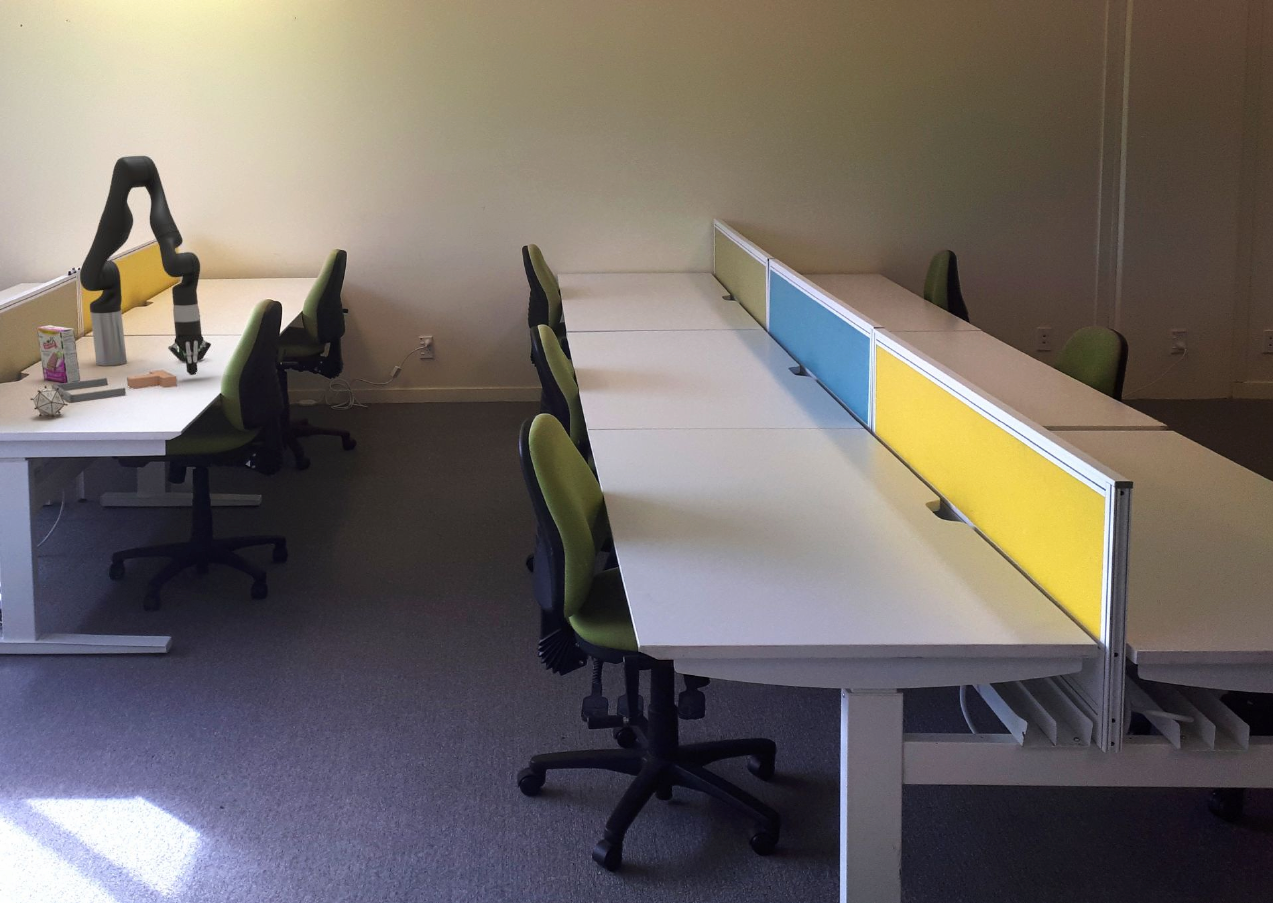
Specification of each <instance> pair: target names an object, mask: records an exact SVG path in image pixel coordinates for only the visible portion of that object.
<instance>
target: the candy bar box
mask: <svg viewBox="0 0 1273 903" xmlns="http://www.w3.org/2000/svg"><path fill="white" fill-rule="evenodd" d="M36 330H37V338H38V339H37V340H38V345H39V350H40V359H41V366H42V375H43V379H44V380H46V381H52V382H56V383H57V382H58V383H61V384H62V383H70V382H77V381H81V377H80V370H79V369H80V367H79V363H78V362H79V361H78V360H79V359H78V352H77V345H76V344H77V343H76V337H75V331H74V330H75V329H74V328H71V327H64V326H58V325H56V326H55V325H50V324H49V325H44V326H39V327H37V328H36Z"/></svg>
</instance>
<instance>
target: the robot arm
mask: <svg viewBox="0 0 1273 903" xmlns="http://www.w3.org/2000/svg"><path fill="white" fill-rule="evenodd" d="M112 170H113V171H112V176H111V181H110V186H109V191H108V195H107V198H106V201H105V206H104V207H103V211H102V214H101V216H100V219H99V223H98V226H97V229H96V233H95V235H94V238H93V241H92V244H91V246H90V248H89V251H88V253H87V255H86V257H85V258H84V261H83V263H82V265H81V268H80V272H79V279H80V280H79V281H80V284H81V286H82V288H83V289H84V290H86V291H89V292H99V291H100V292H102V293H101V294H100V295H99V297H98V298H96V299H94V300H93V301H91V302H90V304H89V312H90V320H91V328H92V329H91V330H92V336H93V347H94V353H95V354H94V355H95V363H96V365H97V366H103V367H104V366H107V367H108V366H110V367H111V366H119V364H120V365H123V364H126V363H127V362H128V361H127V352H126V343H125V333H124V325H123V324H124V323H123V322H124V321H123V317H122V306H121V305H122V300H123V298H122V282H121V281H122V280H121V272H120V269H119V267H118V264H116V262H114V261H113V260H109V259H110V258H111V257H112V256H113V255H114V254H115V253H116V252H117V251H119V249H121V248H122V247H123V246H124V245H125V244H126V243H127V241H128V239H129V237H130V234H131V231H132V228H133V225H134V216H133V213H132V210H131V208H130V206H129V204H128V198H129V195H130V192H131V190H132V189H133V188H134V189H135V188H145V189H146V190H147V193H148V195H149V198H150V212H149V226H150V229H151V232H152V233H153V235H154V238H155V239H156V243H157V244H158V246H159V251H160V258H161V263H162V264H161V265H162V267H163V270H164V272H165V273H166V274H167V275H168V276H169V277H171V278H181V280H180V282H179V283H178V284H175V285H174V286H173V287H171V288H172V289H171V290H172V291H171V294H172V303H173V304H172V305H173V308H172V309H173V310H172V311H173V315H172V316H173V324H174V334H175V338H174V342H173V344H172V345H169V346H168V348H167V349H168V351H170V352H171V353H172V354H173V355H174V356H175V357H176V358H177V360H179V361H180V362H182V363H185V362H186V363H185V366H186V372H187V373H188V374H189V375H190V376H194V375H197V373H198V362H197V361H199V360H201V361H202V360H204V359H203V358H204V357H205V355H206V354H207V353H208V350H209V349H210V348H211V347H212V343H211V342H208V341H206V340H205V339H204V337H203V335H201V334H202V324H201V323H202V322H201V314H200V308H199V304H198V303H199V302H198V293H197V292H198V291H197V290H198V285H199V279H200V275H201V262H200V258H198V256H197V255H196V254H195V253H194V252H191V251H185V252H176V249H177V248H179V247H181V246H182V244H183V242H184V240H183V237H182V235H181V232H180V231H179V229H178V227H177V225H176V224H177V223H176V222H175V220H174V218H173V216H172V213H171V210H170V208H169V204H168V200H167V197H166V193H165V190H164V187H163V184H162V180H161V176H160V173H159V171H158V168H157V166H156V164H155V162H154V161H153V159H152V158H151V157H149V156H147V155H132V156H130V155H129V156H123V157H120V158H118V159H117V160H116V162H115V164H114V167H113V169H112ZM201 344H202V345H201ZM200 346H202V348H201V349H200V351H199V352H198V349H199V347H200ZM179 348H180V349H181V350H182V351H183V354H184V357H185V358H184V357H183V356H182V355H181V354H180V353H179ZM199 362H200V361H199Z"/></svg>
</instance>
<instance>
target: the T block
mask: <svg viewBox="0 0 1273 903" xmlns="http://www.w3.org/2000/svg"><path fill="white" fill-rule="evenodd" d="M148 372H149V373H147V374H140V375H133V376H132V375H131V376H126V383H127V387H128V386H129V387H130V388H129V387H128V388H129V389H131V388H136V389H142V388H143V387H144V388H149V387H148V386H151V387H156V386H157V385H158V386H159V385H160V387H161V386H162V387H161V388H164V389H165V388H171V387H172V386H173V387H178V380H177V376H176V375H175V374H172V373H171V372H168V371H166V370H164V369H158V370H149V371H148ZM158 386H157V387H158ZM173 387H172V388H173Z"/></svg>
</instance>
